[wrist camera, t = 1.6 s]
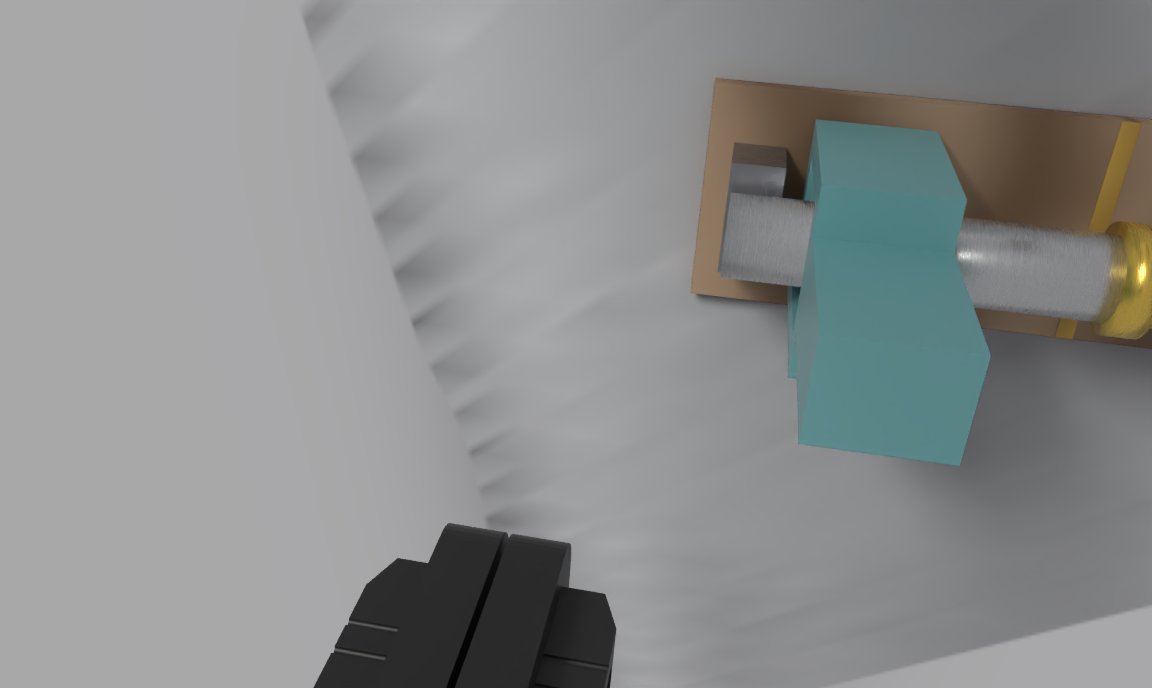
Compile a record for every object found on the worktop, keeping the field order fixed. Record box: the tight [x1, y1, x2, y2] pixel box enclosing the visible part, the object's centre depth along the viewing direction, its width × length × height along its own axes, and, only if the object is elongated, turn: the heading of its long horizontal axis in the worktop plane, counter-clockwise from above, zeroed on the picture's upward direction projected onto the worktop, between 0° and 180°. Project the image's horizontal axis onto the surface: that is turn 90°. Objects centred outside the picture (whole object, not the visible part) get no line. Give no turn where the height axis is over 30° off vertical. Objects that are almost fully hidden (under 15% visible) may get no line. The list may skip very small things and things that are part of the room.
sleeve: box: [787, 119, 991, 466], centre depth 31 cm, size 4×6×12 cm, turn 177°
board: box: [691, 78, 1152, 349], centre depth 36 cm, size 20×8×1 cm, turn 87°
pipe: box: [718, 142, 1152, 339], centre depth 33 cm, size 18×4×7 cm, turn 87°
